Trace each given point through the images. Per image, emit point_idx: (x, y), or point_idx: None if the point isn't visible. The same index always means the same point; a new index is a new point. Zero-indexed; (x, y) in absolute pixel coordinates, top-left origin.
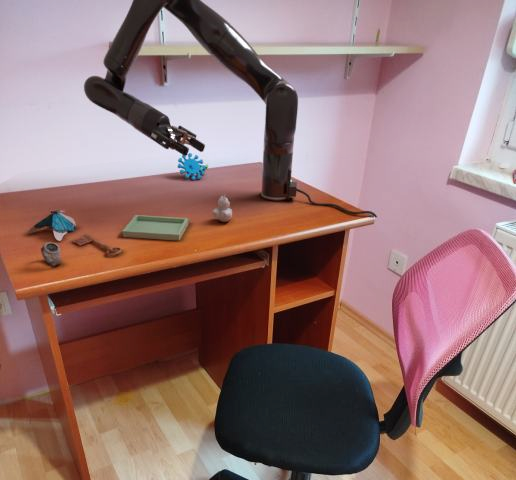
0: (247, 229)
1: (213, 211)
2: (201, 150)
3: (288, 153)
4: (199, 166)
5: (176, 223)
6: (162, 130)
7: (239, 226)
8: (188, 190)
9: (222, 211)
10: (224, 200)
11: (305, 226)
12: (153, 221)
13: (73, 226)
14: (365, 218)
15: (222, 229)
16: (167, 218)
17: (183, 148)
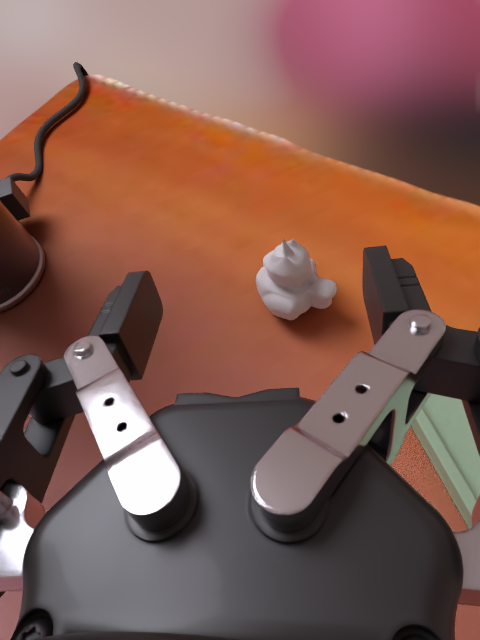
0: (307, 220)
1: (335, 288)
2: (160, 304)
3: None
4: None
5: (425, 409)
6: (404, 528)
7: None
8: (15, 622)
9: (312, 268)
10: (301, 245)
11: (207, 135)
12: None
13: None
14: (97, 76)
15: (352, 270)
16: (443, 445)
17: (407, 263)
